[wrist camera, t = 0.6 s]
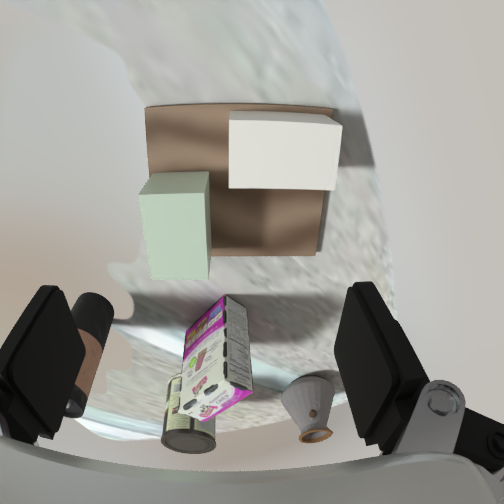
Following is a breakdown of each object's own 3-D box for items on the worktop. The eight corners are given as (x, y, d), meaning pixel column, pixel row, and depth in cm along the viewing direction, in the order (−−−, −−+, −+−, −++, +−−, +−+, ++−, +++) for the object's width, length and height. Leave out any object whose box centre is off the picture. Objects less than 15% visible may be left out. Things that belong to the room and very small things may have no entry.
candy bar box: (208, 343, 56) (204, 423, 42) (185, 330, 54) (175, 412, 40) (249, 307, 52) (255, 393, 38) (225, 292, 50) (223, 380, 36)
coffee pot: (332, 393, 68) (345, 449, 55) (282, 402, 69) (290, 460, 56) (330, 334, 57) (350, 402, 44) (268, 346, 57) (276, 417, 45)
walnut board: (146, 107, 34) (144, 108, 34) (330, 108, 36) (333, 109, 35) (160, 252, 45) (159, 256, 45) (313, 252, 47) (315, 255, 46)
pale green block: (153, 173, 38) (138, 194, 32) (209, 171, 38) (204, 193, 33) (161, 248, 44) (151, 279, 38) (211, 248, 44) (208, 279, 38)
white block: (229, 167, 38) (228, 188, 32) (230, 110, 35) (228, 120, 29) (319, 169, 39) (334, 190, 33) (324, 114, 35) (342, 125, 29)
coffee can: (195, 403, 67) (192, 457, 56) (158, 384, 63) (150, 441, 51) (227, 386, 64) (227, 446, 52) (188, 365, 60) (183, 428, 48)
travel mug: (120, 301, 50) (85, 403, 33) (111, 329, 54) (82, 424, 37) (78, 284, 48) (32, 380, 31) (73, 313, 51) (35, 404, 35)
